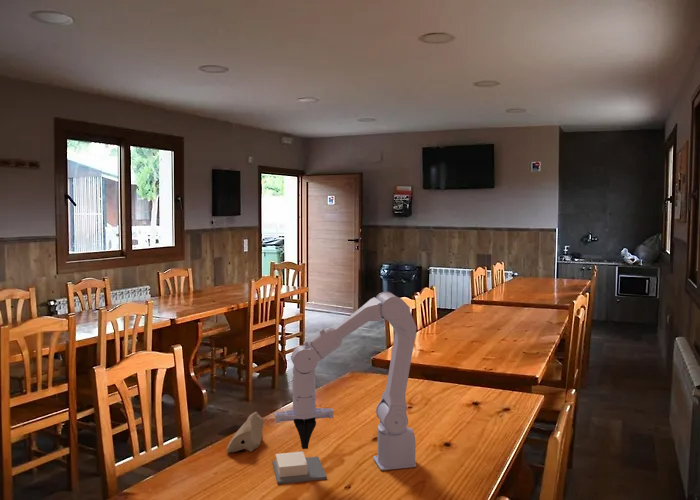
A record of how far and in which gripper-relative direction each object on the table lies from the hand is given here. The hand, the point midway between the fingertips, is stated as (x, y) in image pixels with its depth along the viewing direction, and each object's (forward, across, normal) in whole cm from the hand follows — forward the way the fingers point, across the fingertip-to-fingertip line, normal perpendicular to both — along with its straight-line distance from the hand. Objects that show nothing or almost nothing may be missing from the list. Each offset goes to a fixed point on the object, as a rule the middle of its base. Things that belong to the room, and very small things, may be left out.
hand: (304, 447), depth 150 cm
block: (+4, 0, 0) cm, 4 cm away
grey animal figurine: (+6, +14, -19) cm, 24 cm away
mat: (+6, +2, 0) cm, 6 cm away
